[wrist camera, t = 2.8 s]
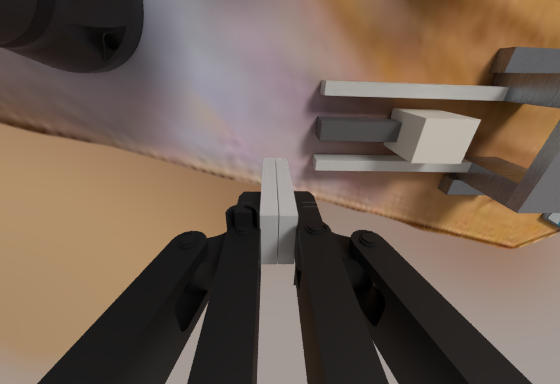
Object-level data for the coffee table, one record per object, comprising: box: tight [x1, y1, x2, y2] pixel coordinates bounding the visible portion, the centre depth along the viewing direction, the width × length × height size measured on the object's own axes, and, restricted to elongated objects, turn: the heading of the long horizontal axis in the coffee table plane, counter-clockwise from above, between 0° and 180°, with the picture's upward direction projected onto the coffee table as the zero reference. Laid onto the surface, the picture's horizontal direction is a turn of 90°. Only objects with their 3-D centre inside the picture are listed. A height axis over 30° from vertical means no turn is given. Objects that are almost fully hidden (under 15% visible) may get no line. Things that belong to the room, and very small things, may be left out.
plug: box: [315, 108, 481, 164], centre depth 27 cm, size 16×5×7 cm, turn 88°
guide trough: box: [312, 80, 509, 172], centre depth 29 cm, size 22×11×2 cm, turn 88°
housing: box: [438, 47, 560, 213], centre depth 26 cm, size 8×19×10 cm, turn 178°
